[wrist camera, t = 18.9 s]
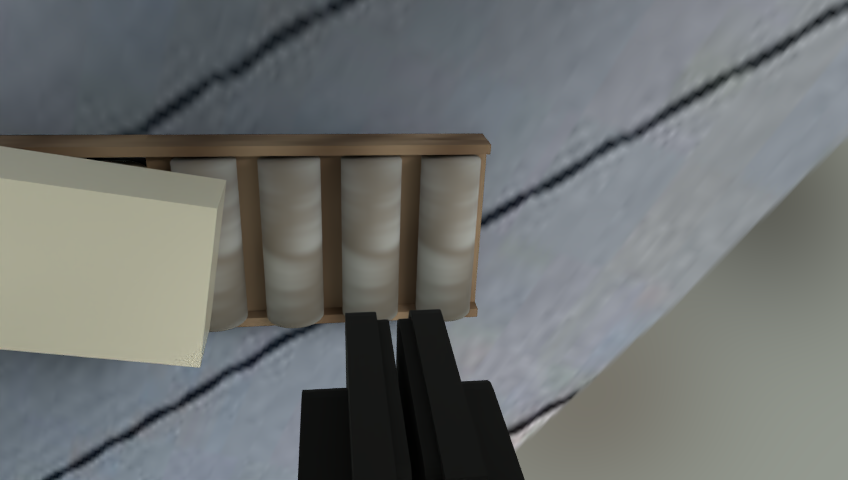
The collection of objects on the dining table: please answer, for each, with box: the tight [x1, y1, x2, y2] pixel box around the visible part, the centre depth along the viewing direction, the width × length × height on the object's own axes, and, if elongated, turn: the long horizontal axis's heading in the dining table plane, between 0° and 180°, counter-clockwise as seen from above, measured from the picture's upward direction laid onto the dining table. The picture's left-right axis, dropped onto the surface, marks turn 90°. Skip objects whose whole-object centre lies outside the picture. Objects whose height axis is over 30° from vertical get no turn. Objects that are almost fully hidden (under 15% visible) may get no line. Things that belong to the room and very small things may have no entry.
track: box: [0, 134, 491, 332], centre depth 34 cm, size 28×10×6 cm, turn 88°
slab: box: [0, 146, 226, 367], centre depth 31 cm, size 12×8×4 cm, turn 78°
